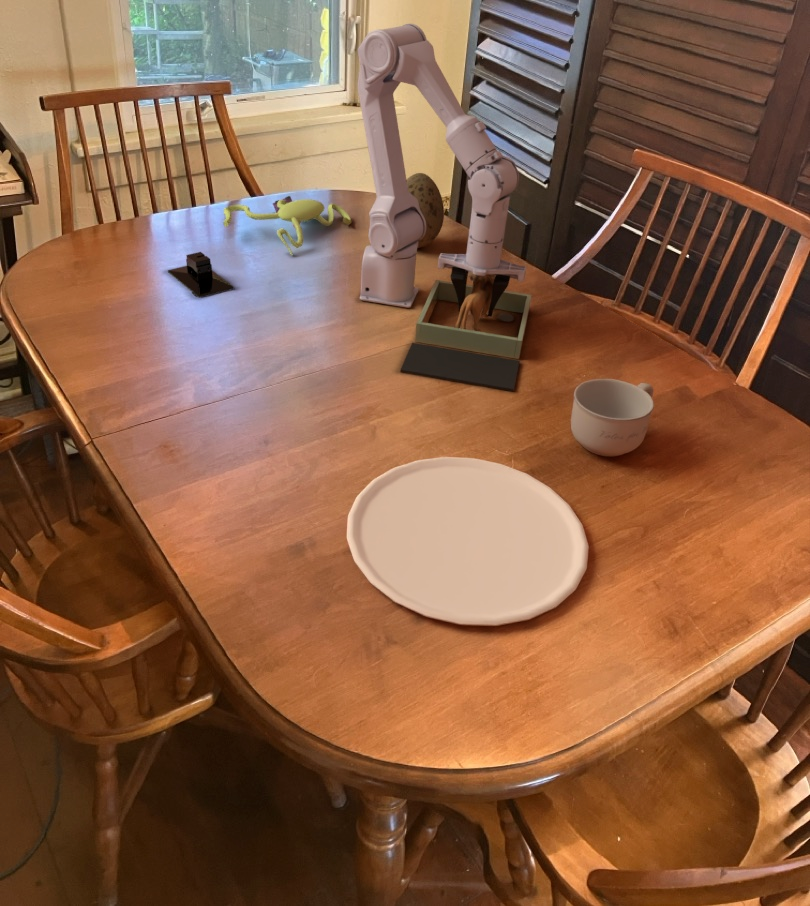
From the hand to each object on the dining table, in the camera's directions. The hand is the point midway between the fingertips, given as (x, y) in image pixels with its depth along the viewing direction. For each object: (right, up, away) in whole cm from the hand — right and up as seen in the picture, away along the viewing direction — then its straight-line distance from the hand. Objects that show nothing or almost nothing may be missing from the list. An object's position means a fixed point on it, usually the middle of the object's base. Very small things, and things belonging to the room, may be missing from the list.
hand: (475, 311), depth 138 cm
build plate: (-50, +7, +9) cm, 51 cm away
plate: (-5, -35, -41) cm, 54 cm away
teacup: (+17, -23, -23) cm, 37 cm away
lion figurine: (-1, -2, +2) cm, 2 cm away
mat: (-3, -11, -10) cm, 15 cm away
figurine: (-37, +22, +30) cm, 52 cm away
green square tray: (0, -2, +2) cm, 3 cm away
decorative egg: (-10, +18, +28) cm, 35 cm away
